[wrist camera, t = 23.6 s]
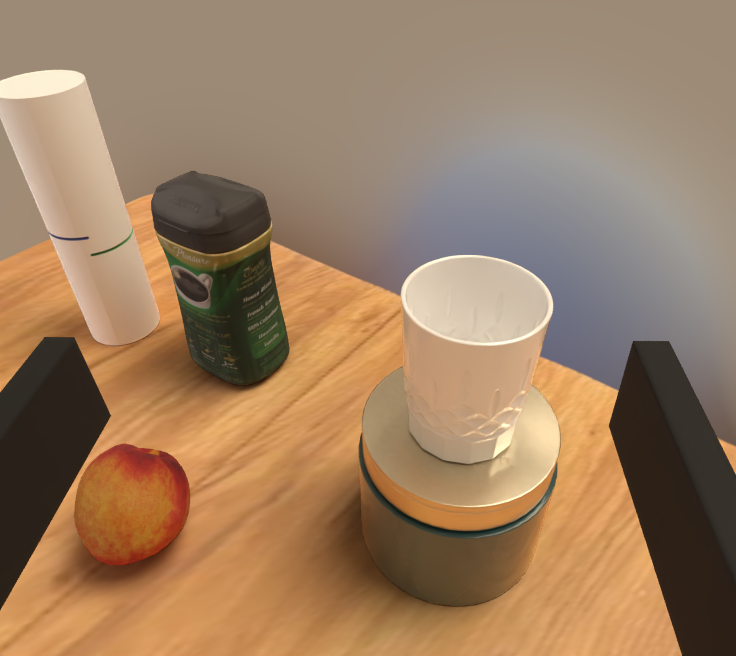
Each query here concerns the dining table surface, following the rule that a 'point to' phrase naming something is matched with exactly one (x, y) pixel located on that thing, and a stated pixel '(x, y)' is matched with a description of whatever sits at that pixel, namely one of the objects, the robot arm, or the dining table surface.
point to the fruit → (131, 504)
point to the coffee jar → (222, 274)
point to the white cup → (470, 352)
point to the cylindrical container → (80, 200)
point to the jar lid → (458, 465)
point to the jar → (447, 550)
